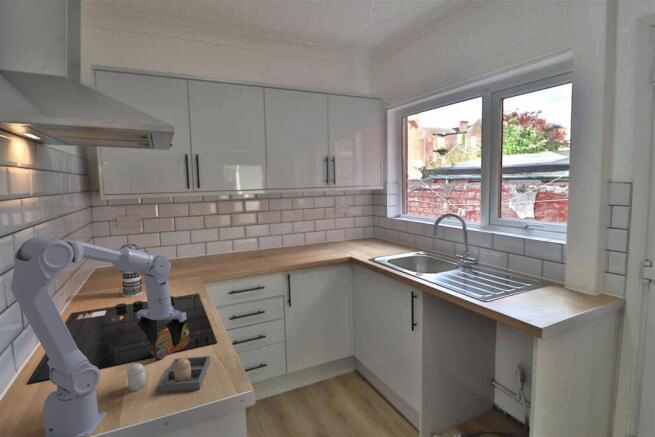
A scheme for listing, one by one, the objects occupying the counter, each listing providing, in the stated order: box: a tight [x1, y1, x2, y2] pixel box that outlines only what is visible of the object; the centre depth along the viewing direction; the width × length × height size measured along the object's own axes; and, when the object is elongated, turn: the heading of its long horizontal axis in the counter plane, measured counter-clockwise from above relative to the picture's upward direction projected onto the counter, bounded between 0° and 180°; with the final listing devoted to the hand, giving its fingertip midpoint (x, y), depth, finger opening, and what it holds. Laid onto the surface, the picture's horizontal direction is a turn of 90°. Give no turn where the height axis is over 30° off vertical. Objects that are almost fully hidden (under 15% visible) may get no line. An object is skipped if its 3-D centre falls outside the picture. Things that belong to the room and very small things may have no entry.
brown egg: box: [174, 357, 192, 383], centre depth 96 cm, size 4×4×7 cm
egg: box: [126, 362, 147, 392], centre depth 95 cm, size 4×4×7 cm
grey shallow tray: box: [158, 355, 211, 394], centre depth 100 cm, size 10×14×3 cm
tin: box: [149, 322, 192, 360], centre depth 115 cm, size 15×3×8 cm, turn 158°
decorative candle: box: [119, 243, 143, 298], centre depth 175 cm, size 9×9×25 cm
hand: (165, 343), depth 99 cm, fingers open, 7 cm apart
